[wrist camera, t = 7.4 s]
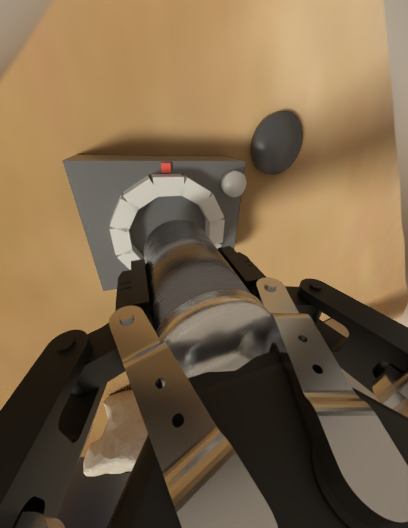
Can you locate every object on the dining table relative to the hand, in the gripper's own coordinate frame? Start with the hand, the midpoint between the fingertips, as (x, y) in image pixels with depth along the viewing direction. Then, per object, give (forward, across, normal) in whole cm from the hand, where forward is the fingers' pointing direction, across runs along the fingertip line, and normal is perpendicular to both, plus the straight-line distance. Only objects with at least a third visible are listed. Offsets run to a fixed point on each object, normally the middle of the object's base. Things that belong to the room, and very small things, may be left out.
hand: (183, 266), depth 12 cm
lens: (+2, 0, 0) cm, 2 cm away
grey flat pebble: (+9, -11, -6) cm, 16 cm away
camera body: (+9, 0, 0) cm, 9 cm away
